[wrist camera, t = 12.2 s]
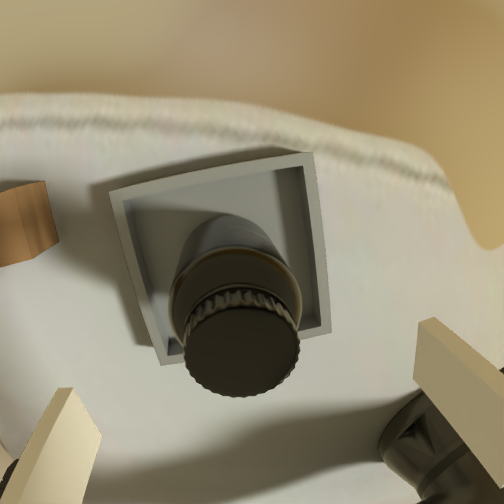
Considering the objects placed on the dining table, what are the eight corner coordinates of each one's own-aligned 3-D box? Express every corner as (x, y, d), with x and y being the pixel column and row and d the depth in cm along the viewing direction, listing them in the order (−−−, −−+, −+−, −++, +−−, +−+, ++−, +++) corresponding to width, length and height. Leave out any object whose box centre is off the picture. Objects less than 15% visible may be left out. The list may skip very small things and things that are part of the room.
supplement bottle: (162, 247, 23) (120, 331, 12) (242, 195, 23) (273, 235, 11) (214, 318, 25) (220, 433, 14) (290, 272, 25) (350, 364, 13)
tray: (302, 152, 23) (312, 151, 20) (322, 317, 27) (331, 332, 24) (119, 188, 22) (108, 191, 20) (164, 348, 26) (160, 365, 24)
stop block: (44, 180, 21) (14, 187, 17) (59, 241, 23) (32, 258, 18) (-21, 206, 21) (-52, 216, 16) (-7, 259, 22) (-35, 277, 18)
